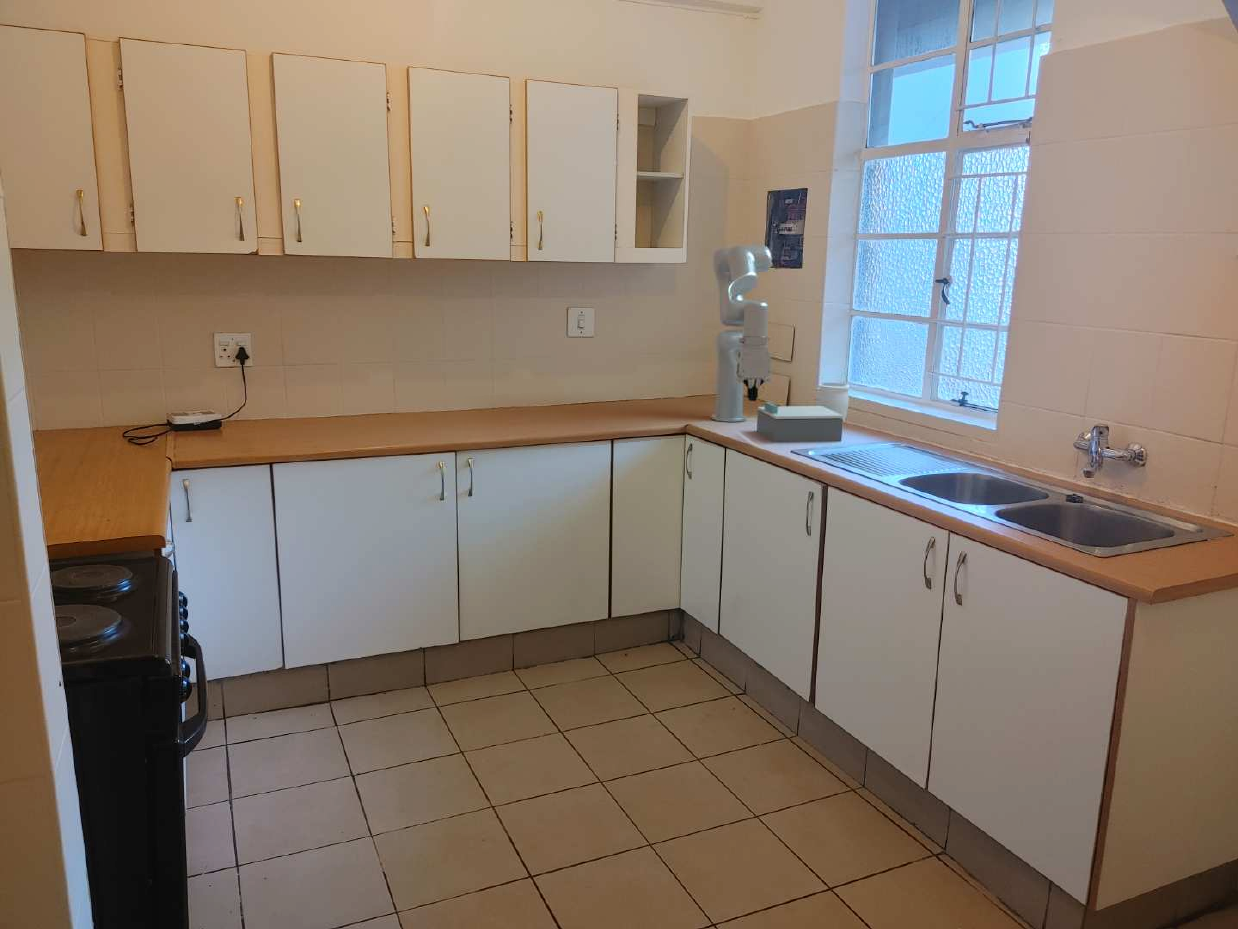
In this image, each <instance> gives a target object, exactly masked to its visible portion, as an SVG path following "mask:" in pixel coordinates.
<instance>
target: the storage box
mask: <svg viewBox="0 0 1238 929" xmlns="http://www.w3.org/2000/svg"><path fill="white" fill-rule="evenodd" d="M756 417H757V418H756V419H757V420H756V432H757V433H759V434H761V436H764V437H765V438H766V439H768V440H770V441H771V442H773V443H813V442H815V443H816V442H842V436H843V427H842V425H843V424H844V422H843V419H842V418H818V419H774V418H773V417H771V416H769V415H767V414H765V413H764V412H762V411H760V410H758V409H757V416H756Z"/></svg>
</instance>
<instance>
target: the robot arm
mask: <svg viewBox="0 0 1238 929" xmlns="http://www.w3.org/2000/svg"><path fill="white" fill-rule="evenodd" d="M772 260H773V256H772V252H771V250H770V248H769V247H768V246H767V245H759V244H758V245H754V244H739V245H736V246H726V247H725V246H723V247H720V248H718V249H716V250H715V252H714V253H713V259H712V264H713V272H714V276H715V278H716V281H717V286H718V291H719V292H718V293H719V296H718V298H719V299H718V301H719V304H718V307H719V309H718V310H719V321H720V323H721V324H722V325H723V326H725V327H733V328H734V327H735V328H736V327H737V328H739V327H740V328H742V329H729V330H728V329H727V330H722V331H720V332H719V333H717V335H716V338H715V348H716V349H715V350H716V357H717V358H716V363H717V368H716V369H717V370H716V392H715V393H716V394H715V396H716V397H715V413H712V414H711V416H710V419H711V418H712V420H713V419H714V420H713V421H717V422H723V423H724V422H725V423H726V422H727V423H738V422H739V423H740V422H745V421H746V420H747V415H746V414H743V405H744V385H745V386H746V389H747V390H746V391H747V392H746V395H747V396H746V397H747V399H748V401H750V402H753V401H754V402H757V398H759V397H758V396H759V389H760V387H761V386H762V385H763V384H764V383H769V382H770V381H771V379H770V378H771V377H772V376H771V375H772V358H771V349H770V348H771V347H770V346H767V345H768V328H769V325H768V324H769V314H770V312H769V310H770V309H769V305H768V303H767V302H765V301H763V300H758V299H745V298H744V294H746V293H748V292H750V291H752V290H754V289H755V288H756V287H757V284H758V282H759V277H758V273H765V272H768V271H769V270H770V268H771V266H772ZM753 380H754V381H753Z"/></svg>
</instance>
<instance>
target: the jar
mask: <svg viewBox="0 0 1238 929" xmlns="http://www.w3.org/2000/svg"><path fill="white" fill-rule="evenodd" d="M818 388H819V391H818V394H817V405H816V406H823V407H825V408H827V409H830V410H832V411H834V412H836V413H838V414H841V415H843V418H842V419H843V423H844V422H845V420H846V417H847V413H848V409H849V404H850V403H849V402H850V400H849V397H850V396H849V389H850V385H849V384H846V383H840V382H822V383H821V382H820V383H819V384H818ZM843 427H844V425H843V424H842V428H843Z"/></svg>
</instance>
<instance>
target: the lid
mask: <svg viewBox="0 0 1238 929" xmlns="http://www.w3.org/2000/svg"><path fill="white" fill-rule="evenodd" d="M758 410H760V411H762V412H764V413H765V414H767V415H769V416H771V417H773V418H774V419H818V418H843V415H841V414H838V413H836V412H834V411H832V410H830V409H827V408H825V407H823V406H817V405H807V406H806V405H804V406H803V405H802V406H801V405H799V406H798V405H797V406H796V405H794V406H792V405H791V406H789V405H788V406H787V405H783V406H781V405H780V406H778V405H777V404H775V403H772V402H771V401H764V406H757V411H758Z"/></svg>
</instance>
